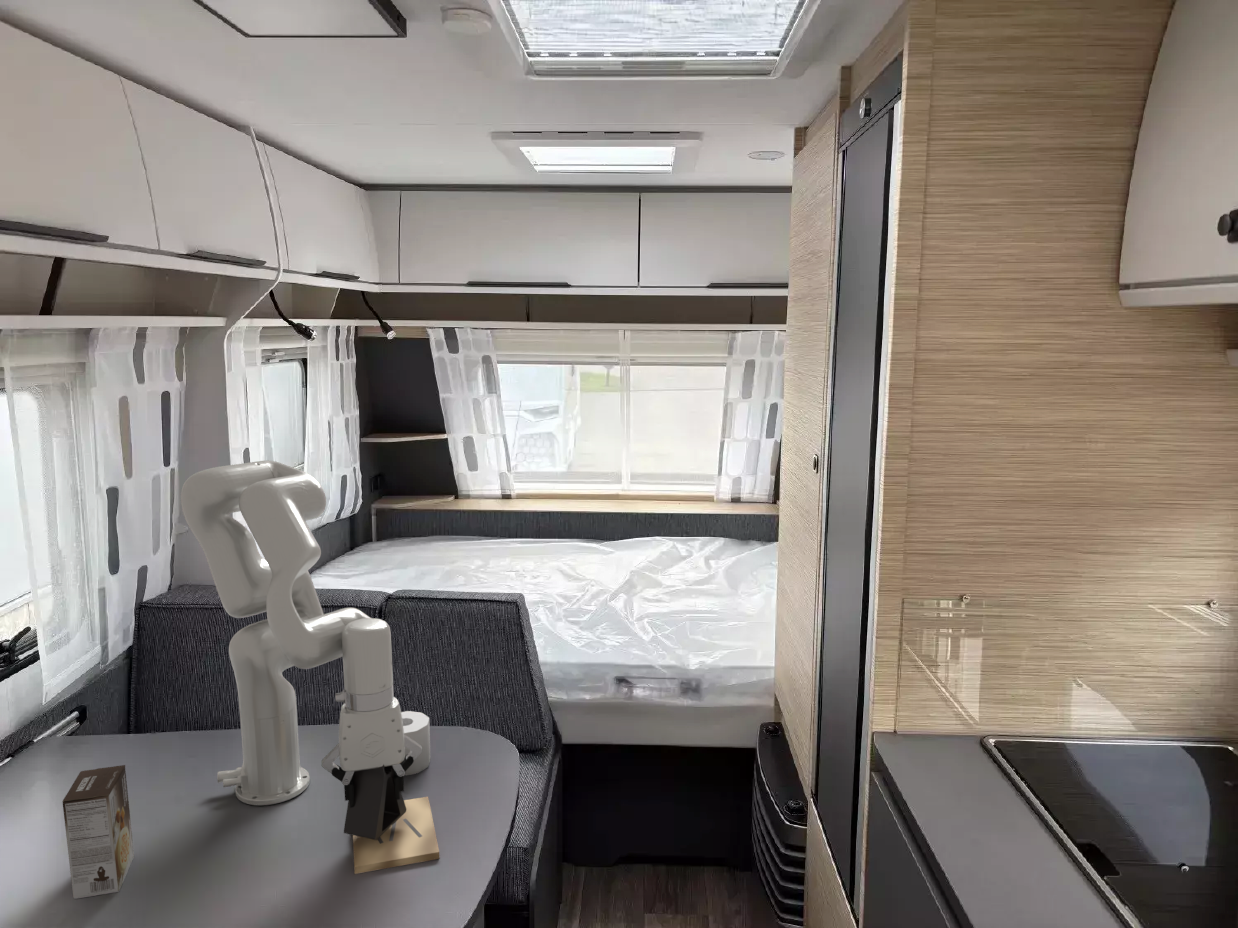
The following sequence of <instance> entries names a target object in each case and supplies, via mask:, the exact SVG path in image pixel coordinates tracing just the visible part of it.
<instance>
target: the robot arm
mask: <svg viewBox="0 0 1238 928" xmlns="http://www.w3.org/2000/svg"><path fill="white" fill-rule="evenodd" d="M325 493H326V492H325V491H324V489H323V487H322V485H321V484H320V482H319V481H318V480H317V479H316V478H315V477H314V476H312V474H309V473H307V472H306V471H303V470H300V469H297V468H295V467H293V466H289V465H288V464H285V463H283V462H278V461H276V460H275V461H274V460H260V461H249V462H244V463H237V464H236V463H235V464H228V465H223V466H221V465H220V466H215V467H211V468H207V469H202V470H201V471H197V472H194V474H192V475H190V476H189V477H188V478H187V479H186V480H185V481H184V483H183V485H182V488H181V492H180V505H181V509H182V515H183V517H184V519H185V521H186V523H187V525H188V528H189V529H190V531H191V533H192V534H193V535H194V537H195V538H196V540H197V542H198V543H199V545H200V547H201V549H202V550H203V553H204V556H205V558H206V561H207V565H208V568H209V571H210V573H211V576H212V579H213V582H214V585H215V588H216V591H217V594H218V597H219V600H220V602H221V605H222V607H223V609H224V610H225V613H227V614H228V615H229V616H230V617H231V618H235V619H243V618H248V617H252V616H256V615H260V614H262V613H266V617H267V618H266V619H263V620H260V621H256V622H253V623H251V624H248V625H246V626H244V627H243V628H241V629H239V630H238V631H237V632H236V633H235V634H234V635H233V636H232V638H231V639H230V642H229V645H228V654H229V655H228V656H229V659H230V663H231V666H232V669H233V672H234V673H233V674H234V677H235V682H236V688H237V695H238V696H237V697H238V698H237V699H238V706H239V709H238V710H239V717H240V718H239V721H240V733H241V737H240V738H241V747H242V748H241V749H242V750H241V752H242V765H241V766H239V767H236V769H231V770H222V771H217V774H216V775H217V776H216V777H217V778H216V779H217V783H218V784H220V783H222V786H223V788H228V787H232V786H233V787H234V786H235V796H236V798H237V800H238V801H240V802H242V803H243V804H248V805H252V806H269V805H270V806H271V805H275V804H276V805H277V804H279V803H283V802H286V801H289V800H291V799H294V798H295V797H297V796H299V795H301V793H303V792H304V791H305V790H306V789H307V788H308V787H309V784H310V782H311V781H310V780H311V779H310V773H309V771H308V770H306V769H305V768H304V767H302V766H301V762H300V746H299V745H300V744H299V742H300V741H299V727H298V726H299V725H298V709H297V708H298V707H297V695H296V690H295V688H294V687H293V685H292V684H291V683H290V682H289V681H288V680H287V679H286V678H285V677H284V676H283V672H284V671H285V670H287V669H289V668H292V667H295V668H297V669H301V670H308V669H309V670H310V669H313V668H316V667H319V666H321V665H324V664H326V663H329V662H332V661H334V660H337V659H340V658H342V667H343V669H342V670H343V684H344V685H343V687H344V689H342V691H340V692H335V697H334V698H335V703H339V702H340V703H343V704H342V705H341V708H340V713H339V721H338V723H339V724H338V742H337V744H336V745H335V746H334V747H333V748H332V749H331V750H330V751H329V752H328V753H327V754H326V755H325V756H324V757H323V758H322V760H321V764H320V765H321V767H322V768H323V769H324V770H326V771H327V772H328V773H330V774H331V776H333V777H334V778H335V779H337V780H338V781H340V782H341V783H342V785H343V789H344V790H343V791H344V802H346V801H347V802H348V800H350V808H351V807H353V806H354V788H353V780H352V776H353V773H354V771H360V770H367V769H374V768H379V767H382V766H383V765H384V767H387V766H393V768H394V770H395V771H394V772H395V776H394V783H395V799H397V800H400V792H401V793H402V792H405V790H404V789H405V788H404V776H403V775H404V774H405V771H406V770H407V769H408V768H409V767H410V766H411V765H412V764H413V762H414V760H415V759H416V758H417V757H418V756H419V755H420V753H421V752H422V747H421V745H420V744H418V743H417V742H415V741H414V740H412V739H411V738H409V737H408V736H406V735H405V734H404V729H403V720H402V714H401V712H402V710H401V709H402V708H401V706H400V702H399V700H398V699H397V697H395V696H394V695H395V694H394V677H393V676H394V675H393V655H392V654H393V653H392V634H391V633H392V632H391V627H390V625H389V624H388V623H387V621H385V620H383V619H381V618H374V617H370V616H369V615H368V614H366V613H365V612H363V611H361V610H360V609H358V608H356V607H351V606H350V607H344V608H340V609H337V610H333V611H331V612H328V613H324V610H323V607H322V605H321V602H320V600H319V596H318V594H317V591H316V588H315V585H314V581H313V579H312V577H311V576H312V575H311V574H310V572H309V570H310V569H311V568H312V567H313V566H315V565H316V563H317V562H318V561H319V559H320V558H321V555H322V550H321V546H320V545H319V543H318V541H317V540H316V538H315V536H314V534H313V532H312V530H311V529H310V527H309V525H308V523H307V521H312V520H314V519H317V518H319V517H320V516H322V515H323V513H324V511H325V509H326V505H327V497H326V494H325ZM239 512H240V514H241V516H242V518H243V519H244V520H245V523H246V526H247V527H245V526H244V525H243V524H242V523H241V522H240V521H238V520H237V519H235V518H233V517H232V516H231V514H233V513H239ZM259 550H260V552H261V553H262V554H260V552H259ZM261 555H262V556H263V557H262V556H261ZM405 747H407V748H408V749H410V750H411V751H410V752H409V754H407V755H406V756H405ZM338 758H339V759H338ZM337 759H338V760H339V764H340V765H338V764H336V763H335V761H337Z"/></svg>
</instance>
